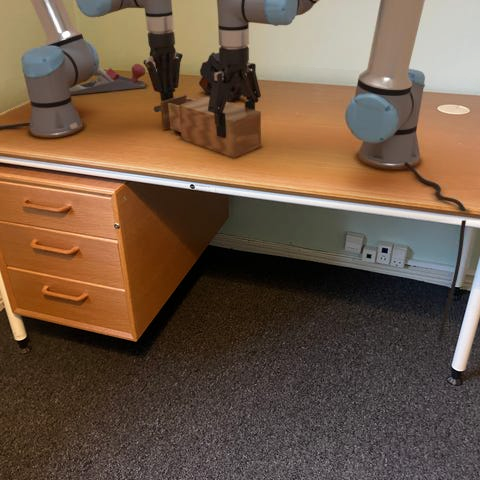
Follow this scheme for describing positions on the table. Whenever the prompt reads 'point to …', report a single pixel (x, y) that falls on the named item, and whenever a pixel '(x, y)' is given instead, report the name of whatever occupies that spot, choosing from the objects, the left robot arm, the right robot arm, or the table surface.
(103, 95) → the table surface
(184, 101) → the drawer
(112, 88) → the hand plane
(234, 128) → the wooden grain block
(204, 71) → the tool
